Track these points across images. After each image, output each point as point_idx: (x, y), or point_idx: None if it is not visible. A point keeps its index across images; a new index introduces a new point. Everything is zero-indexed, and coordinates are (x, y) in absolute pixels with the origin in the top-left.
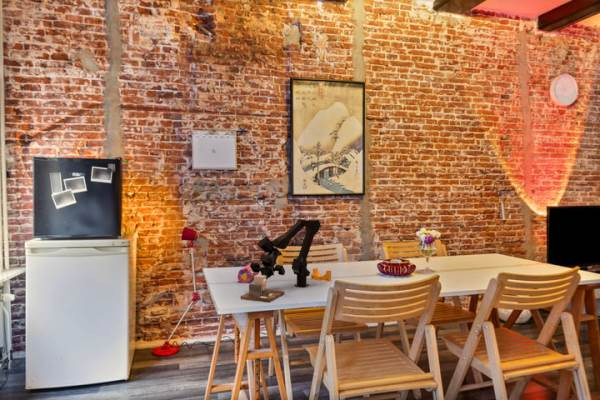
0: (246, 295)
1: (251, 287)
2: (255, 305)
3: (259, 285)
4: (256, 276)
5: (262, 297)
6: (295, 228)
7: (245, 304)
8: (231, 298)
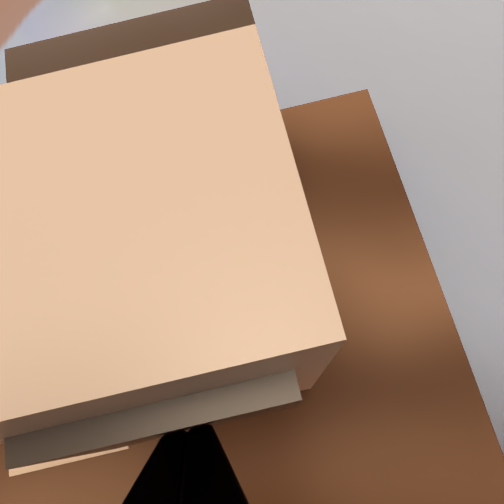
0: (324, 152)
1: None
2: (37, 41)
3: (8, 78)
4: (147, 55)
5: None
6: None
7: (151, 5)
8: (472, 64)
